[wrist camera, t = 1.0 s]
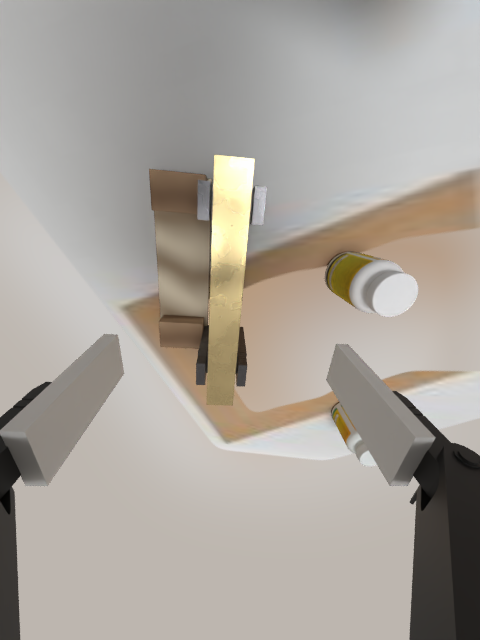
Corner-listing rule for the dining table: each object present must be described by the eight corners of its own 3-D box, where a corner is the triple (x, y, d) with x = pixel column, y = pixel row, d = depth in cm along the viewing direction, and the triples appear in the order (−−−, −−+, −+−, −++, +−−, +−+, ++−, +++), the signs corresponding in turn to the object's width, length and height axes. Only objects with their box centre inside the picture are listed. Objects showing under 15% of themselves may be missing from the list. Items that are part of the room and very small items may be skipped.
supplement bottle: (348, 394, 42) (379, 440, 34) (363, 410, 44) (396, 457, 35) (324, 410, 44) (349, 458, 35) (340, 425, 46) (366, 474, 37)
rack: (207, 188, 28) (196, 172, 19) (255, 193, 29) (269, 180, 19) (204, 344, 37) (195, 387, 27) (241, 346, 37) (245, 389, 28)
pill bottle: (324, 297, 35) (364, 329, 24) (321, 256, 32) (364, 273, 22) (365, 288, 34) (422, 317, 24) (366, 246, 32) (430, 258, 22)
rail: (216, 166, 21) (214, 154, 17) (250, 169, 21) (254, 159, 17) (209, 382, 30) (206, 404, 26) (232, 383, 30) (232, 405, 27)
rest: (152, 173, 27) (144, 168, 25) (211, 179, 28) (209, 175, 25) (162, 337, 36) (157, 346, 33) (207, 339, 36) (205, 349, 34)
